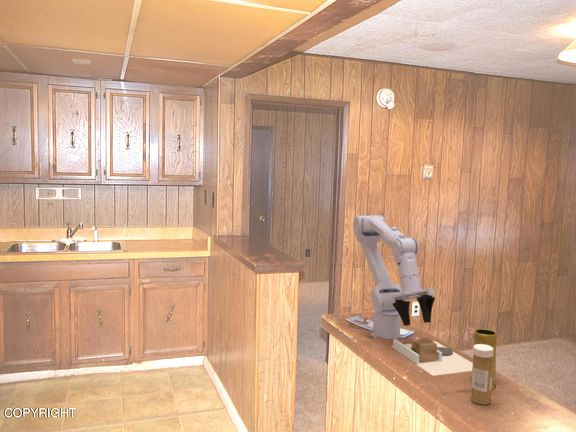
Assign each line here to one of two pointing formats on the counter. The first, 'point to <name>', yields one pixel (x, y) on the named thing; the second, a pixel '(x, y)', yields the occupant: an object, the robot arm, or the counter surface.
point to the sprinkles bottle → (482, 374)
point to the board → (445, 364)
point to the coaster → (445, 351)
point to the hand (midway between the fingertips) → (417, 323)
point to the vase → (489, 339)
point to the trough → (411, 351)
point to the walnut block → (424, 349)
